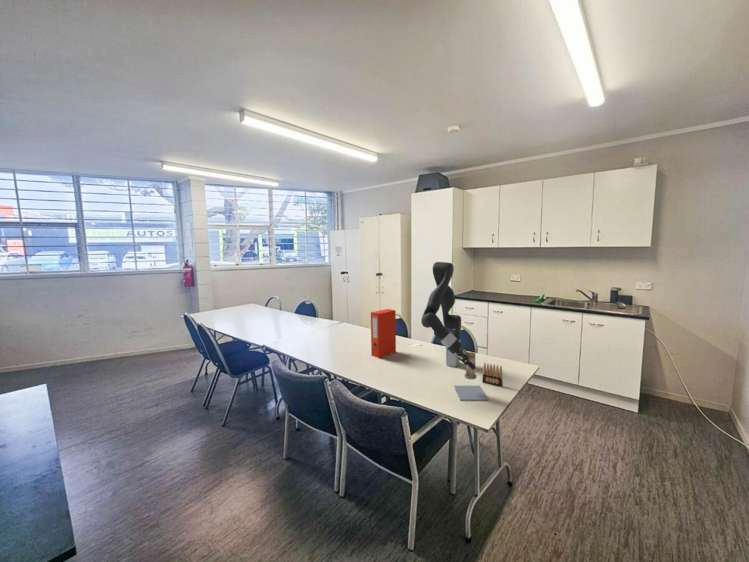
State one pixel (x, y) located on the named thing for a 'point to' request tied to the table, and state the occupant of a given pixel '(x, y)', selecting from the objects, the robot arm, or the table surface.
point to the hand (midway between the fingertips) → (474, 366)
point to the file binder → (383, 332)
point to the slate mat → (470, 393)
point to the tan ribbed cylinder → (469, 372)
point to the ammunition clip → (492, 375)
